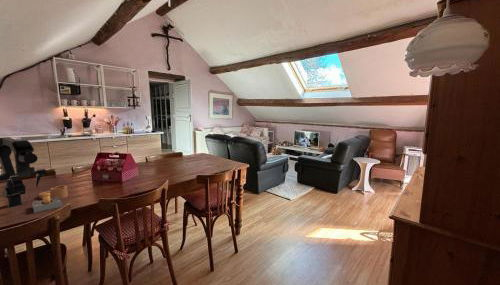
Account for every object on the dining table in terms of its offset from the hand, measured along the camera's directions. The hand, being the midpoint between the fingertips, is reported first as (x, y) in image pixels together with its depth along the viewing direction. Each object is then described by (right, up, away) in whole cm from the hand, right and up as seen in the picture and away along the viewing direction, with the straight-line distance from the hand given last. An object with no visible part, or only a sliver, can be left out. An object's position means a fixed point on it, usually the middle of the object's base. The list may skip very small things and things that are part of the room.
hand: (25, 188), depth 128 cm
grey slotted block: (+9, -12, +4) cm, 15 cm away
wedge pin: (+9, -12, +4) cm, 15 cm away
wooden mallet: (-2, -10, +21) cm, 23 cm away
